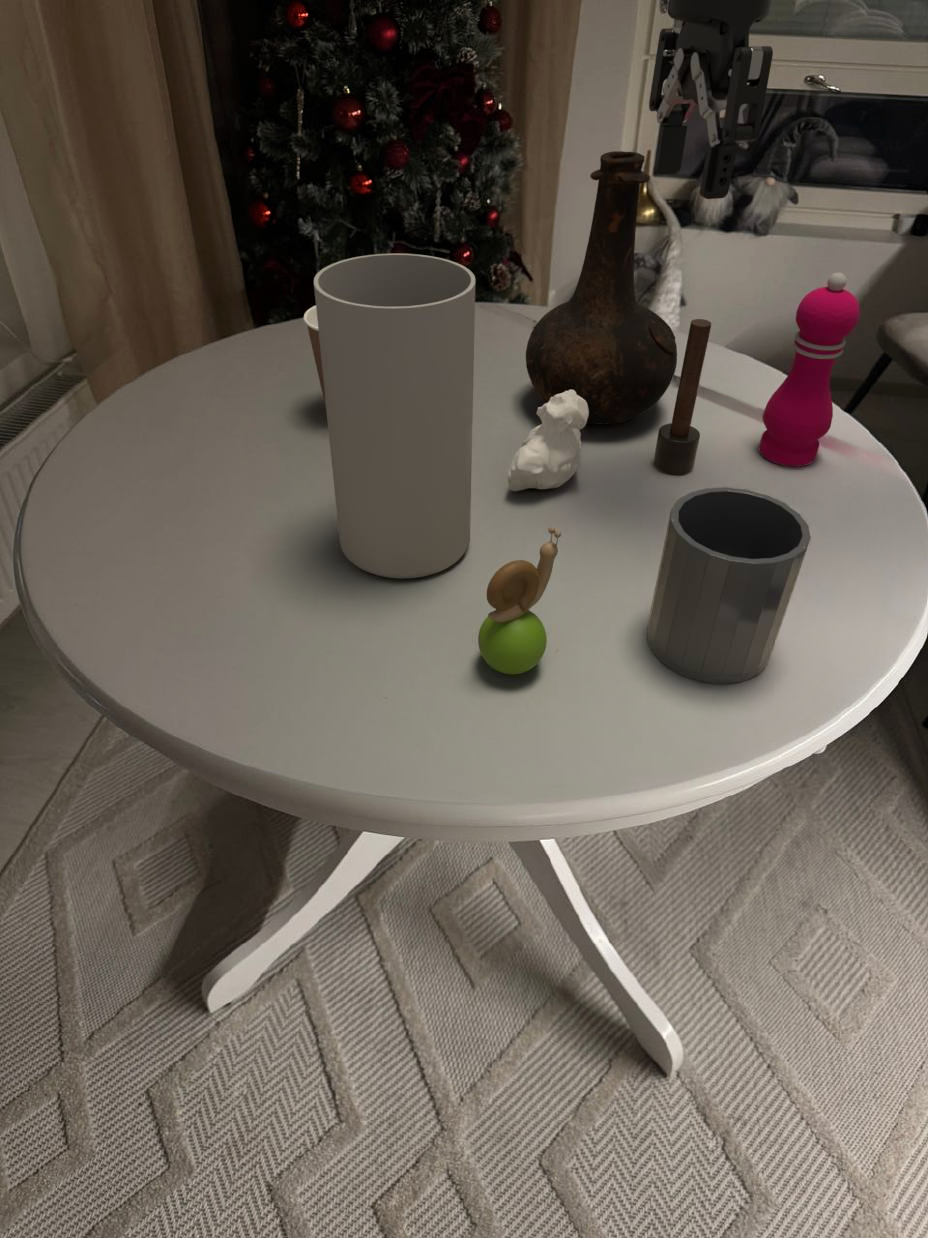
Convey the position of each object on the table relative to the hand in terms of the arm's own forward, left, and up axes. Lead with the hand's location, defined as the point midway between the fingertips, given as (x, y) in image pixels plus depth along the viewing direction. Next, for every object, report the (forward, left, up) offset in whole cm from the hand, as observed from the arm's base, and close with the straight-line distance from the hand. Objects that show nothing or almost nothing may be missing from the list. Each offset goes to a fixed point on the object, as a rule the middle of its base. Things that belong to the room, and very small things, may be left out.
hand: (688, 184), depth 71 cm
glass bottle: (-10, -15, -30) cm, 35 cm away
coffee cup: (+13, -33, -30) cm, 46 cm away
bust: (+7, -7, -30) cm, 31 cm away
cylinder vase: (+26, -8, -30) cm, 40 cm away
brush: (-6, 0, -29) cm, 30 cm away
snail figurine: (+30, +11, -30) cm, 43 cm away
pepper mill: (-18, +7, -30) cm, 35 cm away
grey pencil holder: (+16, +20, -29) cm, 39 cm away
